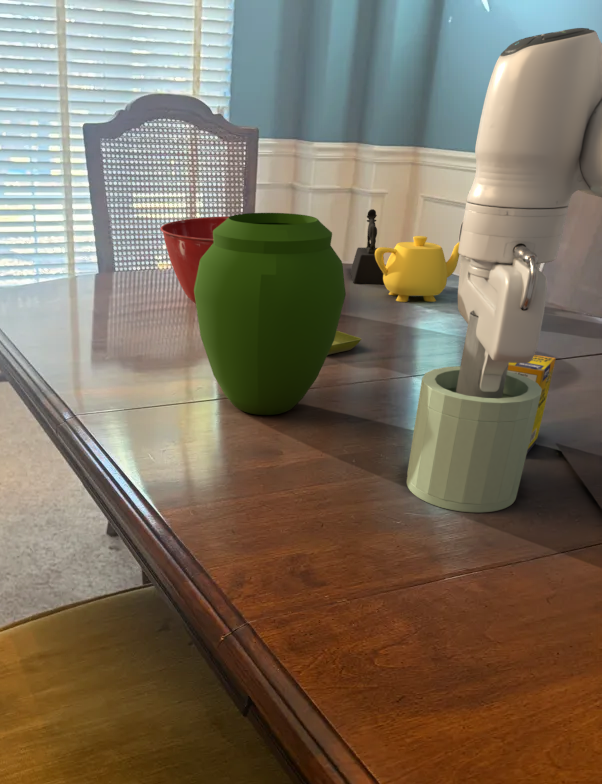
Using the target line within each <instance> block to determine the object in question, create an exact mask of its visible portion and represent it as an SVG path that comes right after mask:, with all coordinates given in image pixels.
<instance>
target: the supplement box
mask: <svg viewBox="0 0 602 784" xmlns="http://www.w3.org/2000/svg"><path fill="white" fill-rule="evenodd" d="M555 364H556V357H550V356H546V355H545V356H544V355H537V354H535V355H534V357H533V358H532V360H531V361H530V362H528V363H510V362H509V365H508V370H507V371H508V372H513V373H516V374H519V375H521V376H524V377H527V378H529V379H531V380H533V381H534V382H536V383H538V385H539V386H540V387H541V388H542V391H541V395H540V400H539V404H538V408H537V412H536V417H535V421H534V425H533V429H532V433H531V438H530V442H529V446H528V450H527V454H526V455H528V454H529V452H530V451H531V449H532V448H533V447H534V446H535V444H537V441H538V436H539V433H540V430H541V429H540V428H541V424H542V421H543V416H544V412H545V408H546V404H547V400H548V395H549V390H550V386H551V381H552V378H553V373H554V368H555Z"/></svg>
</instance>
